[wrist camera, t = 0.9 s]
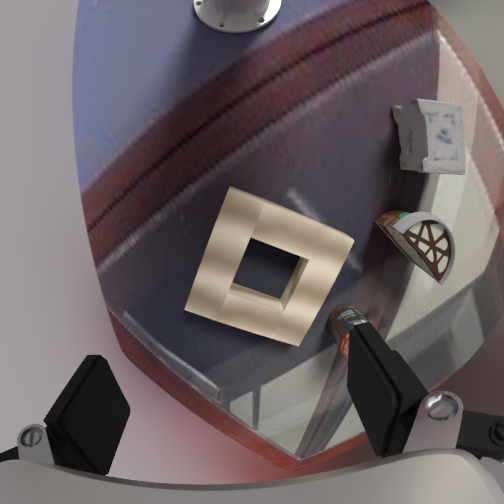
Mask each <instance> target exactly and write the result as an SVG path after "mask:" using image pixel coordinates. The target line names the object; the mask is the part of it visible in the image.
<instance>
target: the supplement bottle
mask: <svg viewBox="0 0 504 504" xmlns="http://www.w3.org/2000/svg"><path fill="white" fill-rule="evenodd" d="M365 322H368V321H367V320H366V319H365V317H364V316H363V315H362V313H361V312H360V311H359V309H358V308H356V307H355V306H353V305H343V306H341V307H338V308H337V309H336V310H334V311H333V313H332V314H331V315H330V317H329V321H328V326H329V329H330V332H331V334H332V336H333V338H334V340H335V342H336V344H337V345H338V348H339V349H340V352H341V353H342V355H343V357H344V359H345V360H346V361H348V354H349V331H350V330H352V329H353V327H354V325H356V324H361V323H365Z"/></svg>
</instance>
